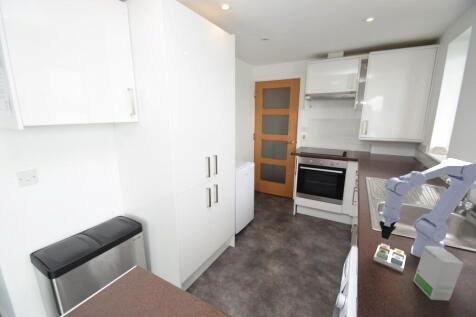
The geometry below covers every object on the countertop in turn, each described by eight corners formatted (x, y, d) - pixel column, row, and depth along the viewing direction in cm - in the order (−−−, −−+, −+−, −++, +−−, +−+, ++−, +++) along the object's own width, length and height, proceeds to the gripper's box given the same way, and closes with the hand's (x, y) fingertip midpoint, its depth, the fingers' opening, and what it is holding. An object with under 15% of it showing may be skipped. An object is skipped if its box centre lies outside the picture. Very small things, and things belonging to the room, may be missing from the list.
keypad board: (405, 259, 91) (406, 255, 91) (402, 272, 83) (403, 268, 83) (378, 248, 98) (378, 244, 97) (373, 260, 90) (374, 256, 89)
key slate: (401, 261, 87) (403, 257, 86) (401, 266, 84) (402, 261, 84) (392, 258, 89) (393, 253, 88) (391, 262, 86) (392, 257, 86)
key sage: (387, 256, 90) (388, 251, 89) (386, 259, 87) (387, 255, 87) (378, 252, 92) (379, 248, 91) (377, 256, 90) (378, 251, 89)
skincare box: (412, 281, 79) (422, 244, 76) (430, 282, 79) (441, 245, 75) (431, 300, 71) (443, 261, 67) (451, 302, 71) (464, 262, 67)
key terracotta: (389, 250, 93) (390, 246, 93) (387, 254, 91) (388, 249, 91) (380, 247, 96) (381, 242, 95) (379, 250, 93) (380, 246, 93)
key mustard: (403, 255, 90) (404, 251, 90) (402, 259, 88) (403, 254, 87) (394, 252, 92) (395, 247, 92) (393, 256, 90) (394, 251, 89)
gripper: (384, 198, 97) (378, 224, 100) (378, 208, 86) (372, 237, 90) (403, 203, 92) (397, 230, 95) (399, 214, 82) (392, 245, 85)
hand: (386, 234), depth 92 cm, fingers open, 7 cm apart
